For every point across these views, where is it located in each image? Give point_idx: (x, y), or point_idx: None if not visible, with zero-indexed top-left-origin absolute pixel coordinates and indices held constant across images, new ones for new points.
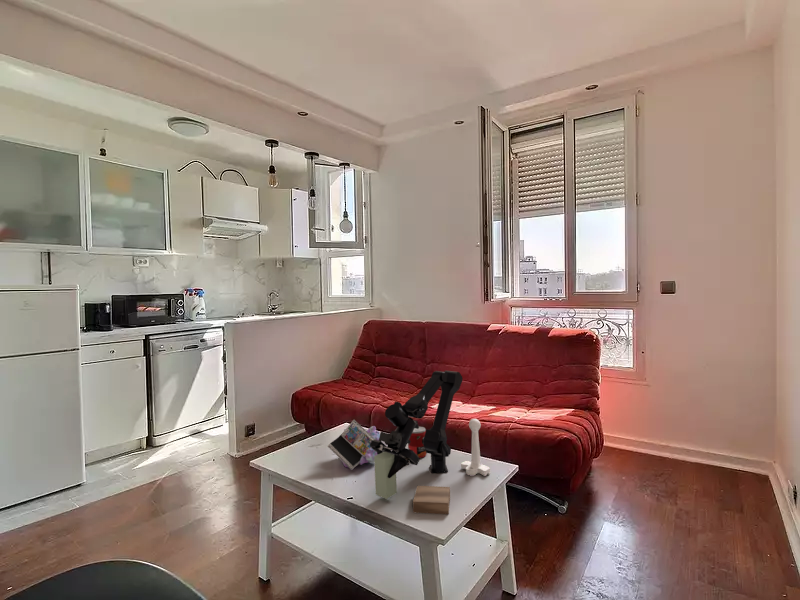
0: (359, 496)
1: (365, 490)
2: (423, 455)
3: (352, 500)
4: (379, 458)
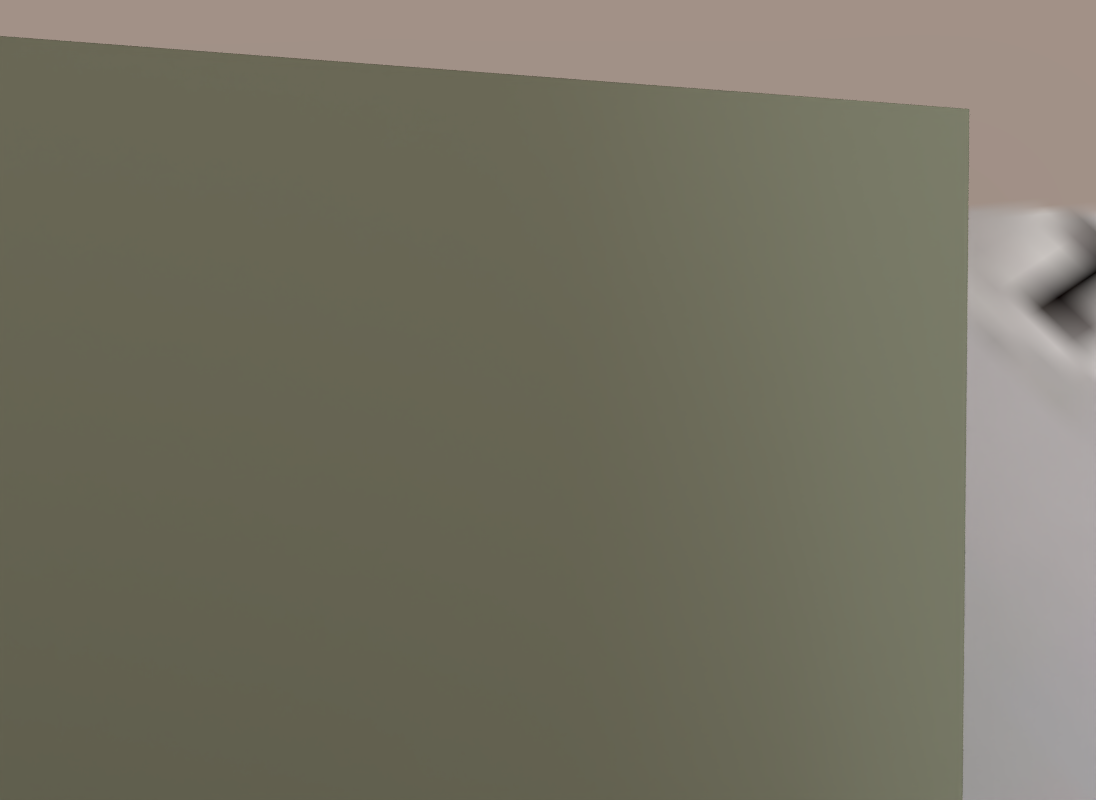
0: (982, 434)
1: (1077, 707)
2: None
3: (973, 240)
4: (26, 73)
